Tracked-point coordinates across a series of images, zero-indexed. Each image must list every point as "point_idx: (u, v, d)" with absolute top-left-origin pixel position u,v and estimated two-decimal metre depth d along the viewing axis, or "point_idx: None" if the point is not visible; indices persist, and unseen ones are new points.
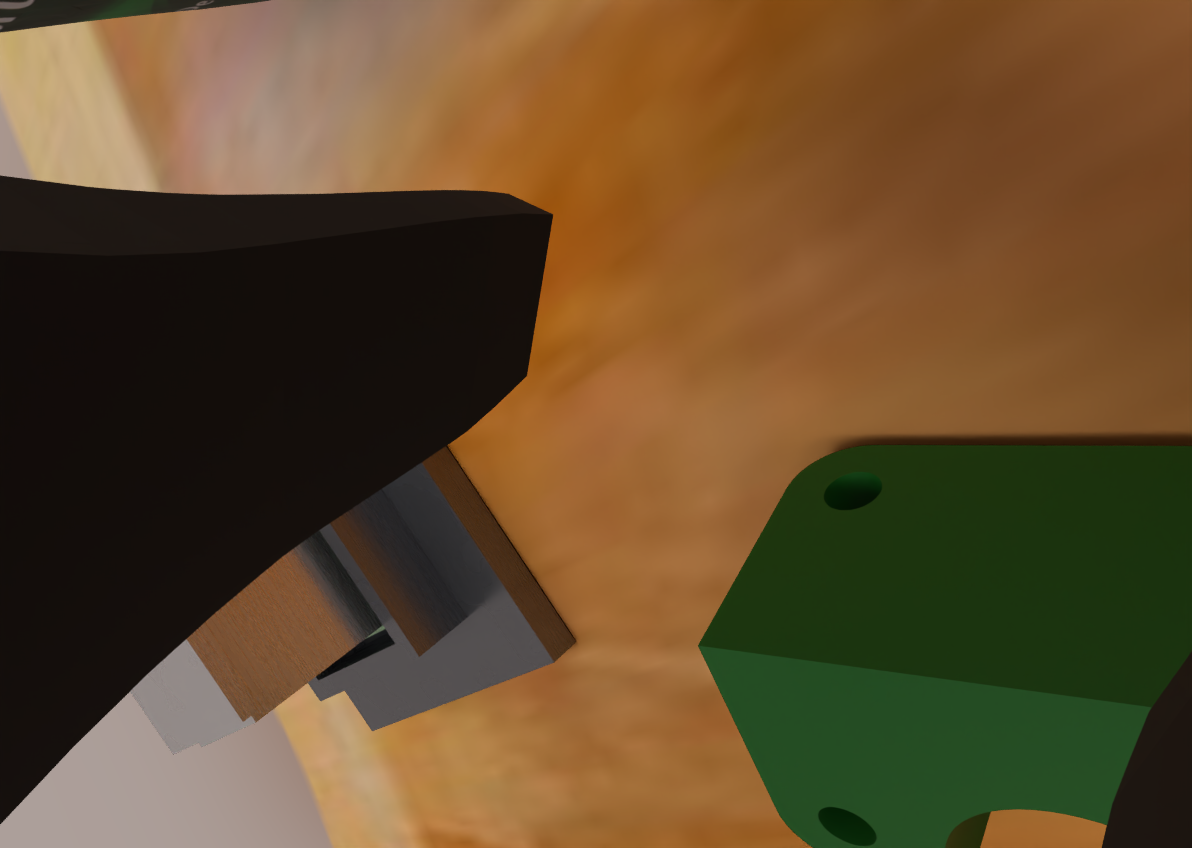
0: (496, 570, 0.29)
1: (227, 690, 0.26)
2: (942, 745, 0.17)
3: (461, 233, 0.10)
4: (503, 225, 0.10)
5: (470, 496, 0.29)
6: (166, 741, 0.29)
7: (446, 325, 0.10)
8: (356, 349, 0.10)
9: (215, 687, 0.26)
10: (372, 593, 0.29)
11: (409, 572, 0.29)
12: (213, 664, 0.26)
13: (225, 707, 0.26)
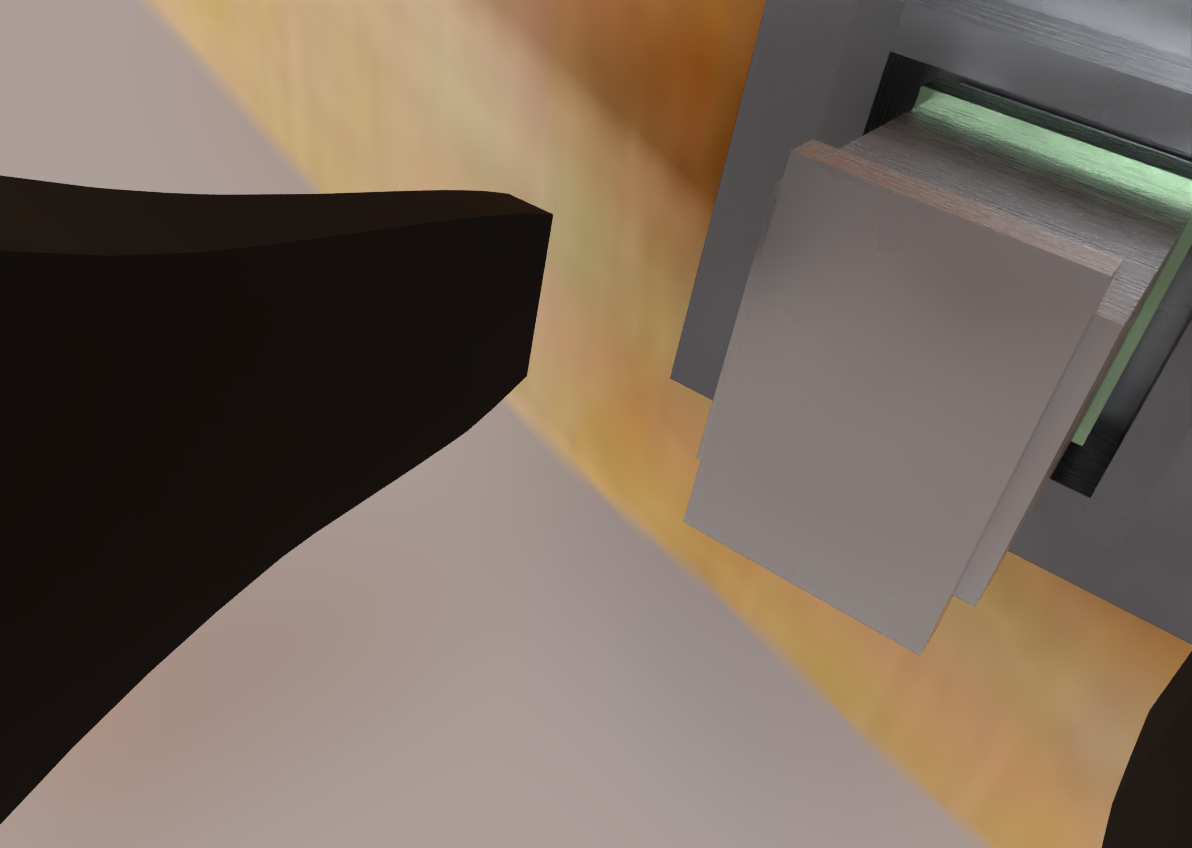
0: None
1: (1018, 237, 0.09)
2: None
3: (461, 233, 0.10)
4: (503, 225, 0.10)
5: None
6: (889, 628, 0.12)
7: (446, 325, 0.10)
8: (356, 349, 0.10)
9: (985, 247, 0.09)
10: (1152, 100, 0.12)
11: (1187, 70, 0.13)
12: (946, 204, 0.10)
13: (1037, 285, 0.09)
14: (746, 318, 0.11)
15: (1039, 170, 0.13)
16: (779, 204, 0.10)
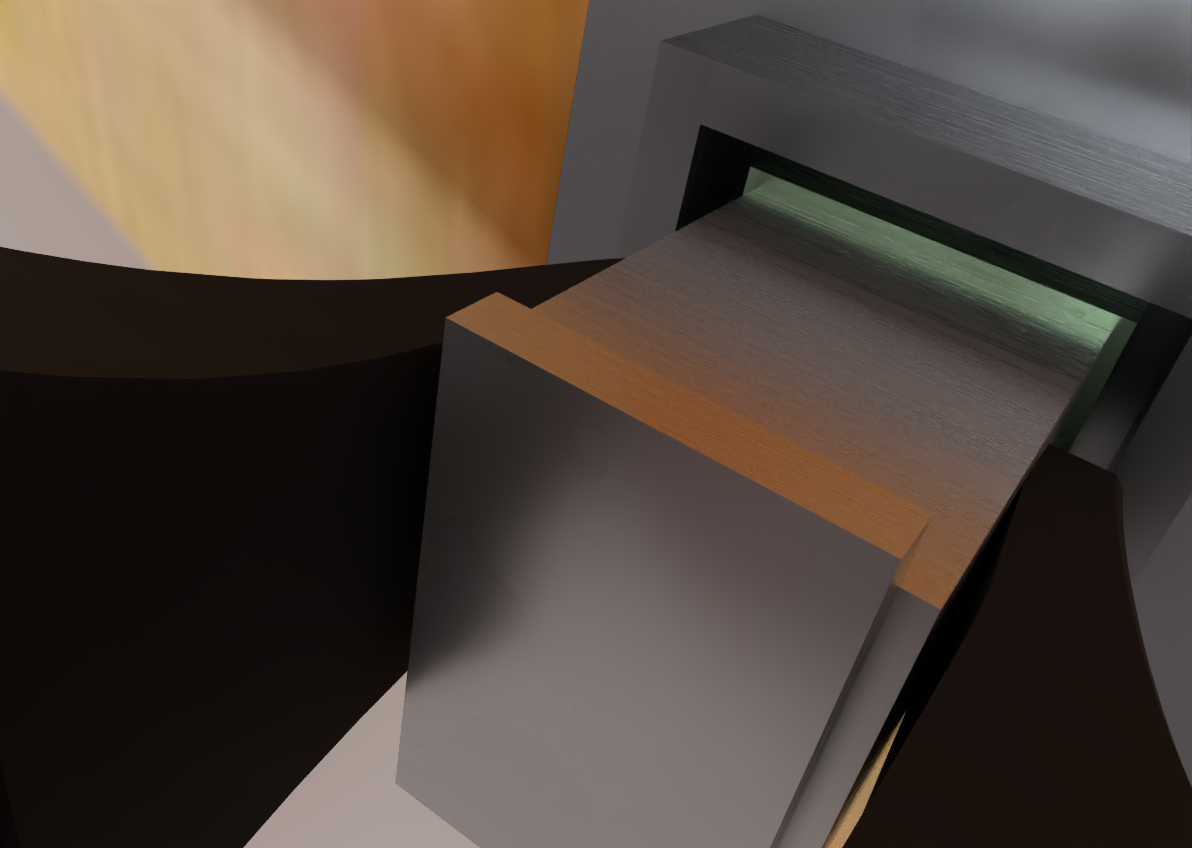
0: None
1: (768, 476, 0.06)
2: None
3: None
4: None
5: None
6: None
7: None
8: None
9: (716, 489, 0.06)
10: (1037, 204, 0.09)
11: (1094, 155, 0.10)
12: (666, 412, 0.06)
13: (795, 556, 0.06)
14: (425, 542, 0.08)
15: (885, 297, 0.09)
16: (441, 393, 0.07)
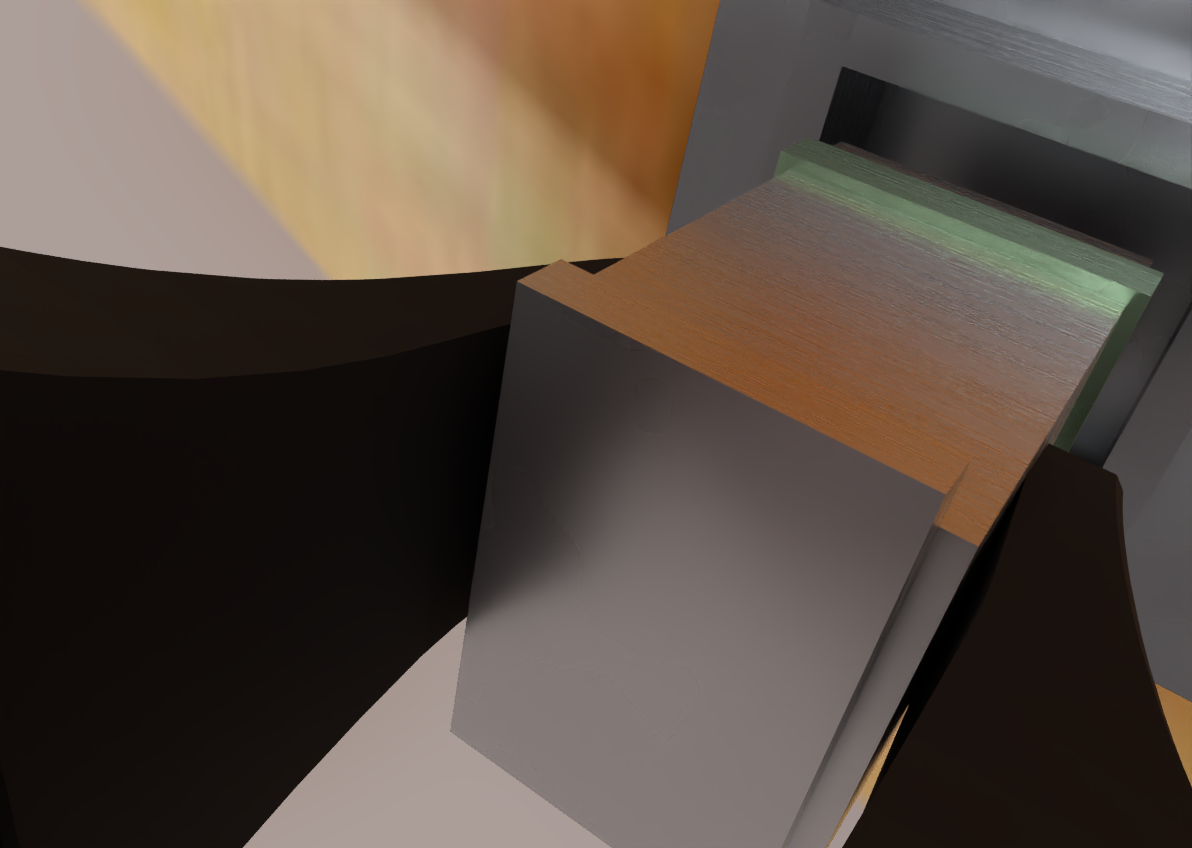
0: None
1: (821, 422, 0.06)
2: None
3: None
4: None
5: None
6: None
7: None
8: None
9: (774, 435, 0.06)
10: (1120, 121, 0.11)
11: (1160, 87, 0.12)
12: (724, 366, 0.07)
13: (845, 494, 0.06)
14: (490, 494, 0.08)
15: (913, 271, 0.10)
16: (510, 352, 0.07)
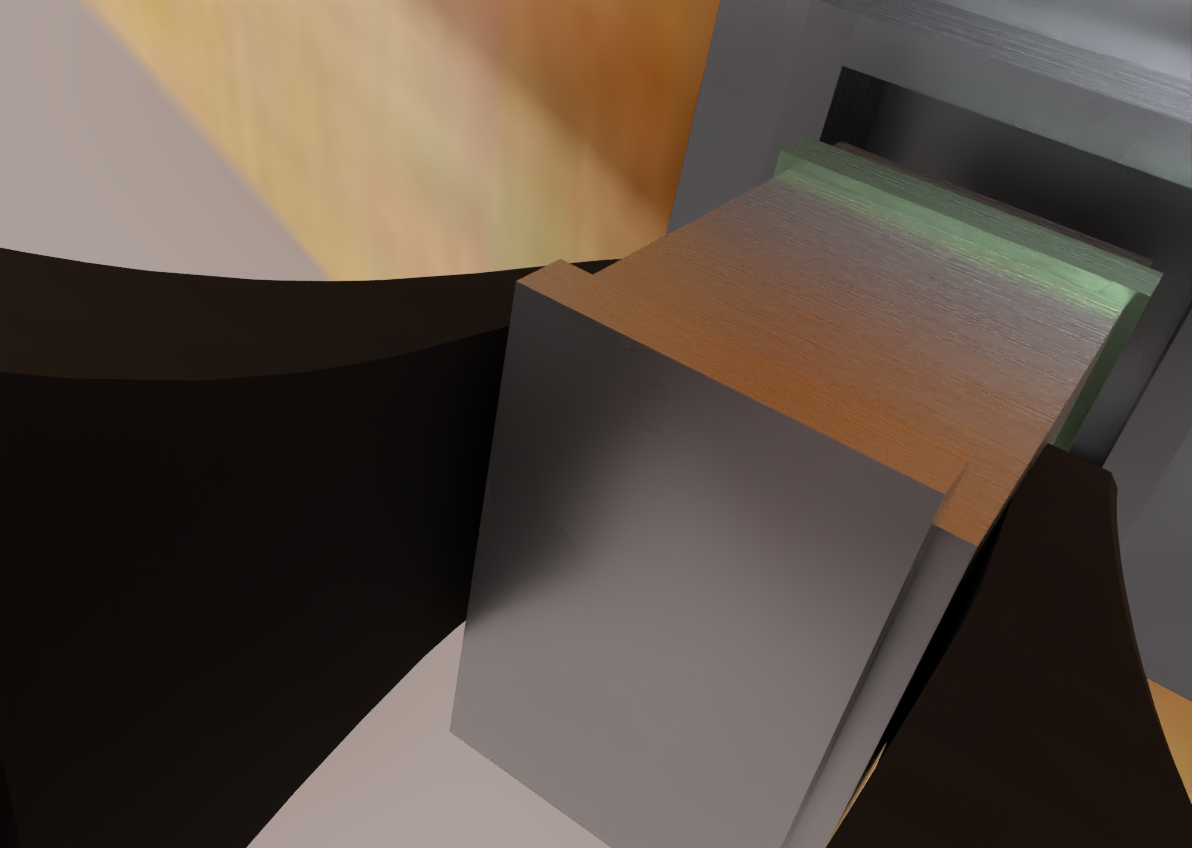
0: None
1: (819, 422, 0.06)
2: None
3: None
4: None
5: None
6: None
7: None
8: None
9: (774, 435, 0.06)
10: (1120, 120, 0.11)
11: (1160, 86, 0.12)
12: (723, 366, 0.07)
13: (845, 494, 0.06)
14: (489, 494, 0.08)
15: (913, 271, 0.10)
16: (509, 352, 0.07)
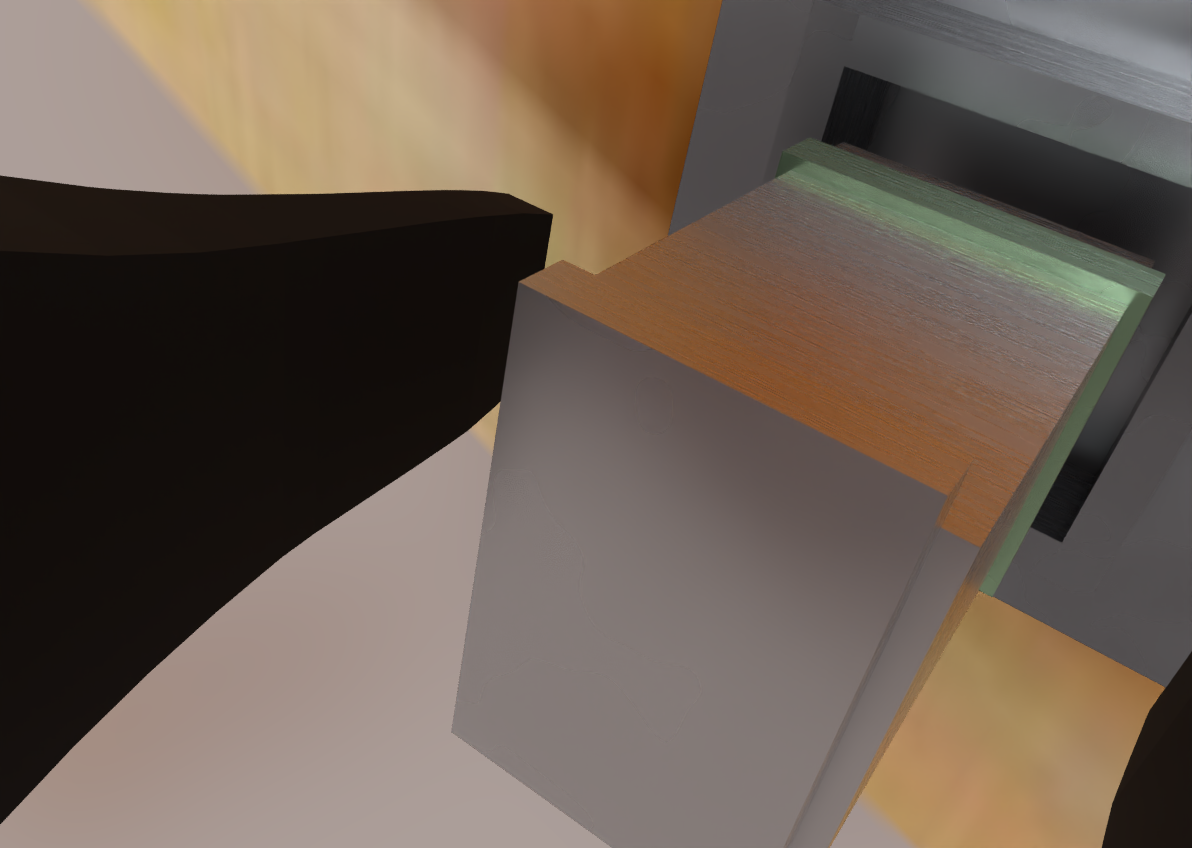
0: None
1: (822, 423, 0.06)
2: None
3: (461, 233, 0.10)
4: (503, 225, 0.10)
5: None
6: None
7: (446, 325, 0.10)
8: (356, 349, 0.10)
9: (775, 435, 0.06)
10: (1123, 121, 0.11)
11: (1162, 87, 0.12)
12: (726, 367, 0.07)
13: (847, 495, 0.06)
14: (491, 496, 0.08)
15: (915, 272, 0.10)
16: (511, 353, 0.07)
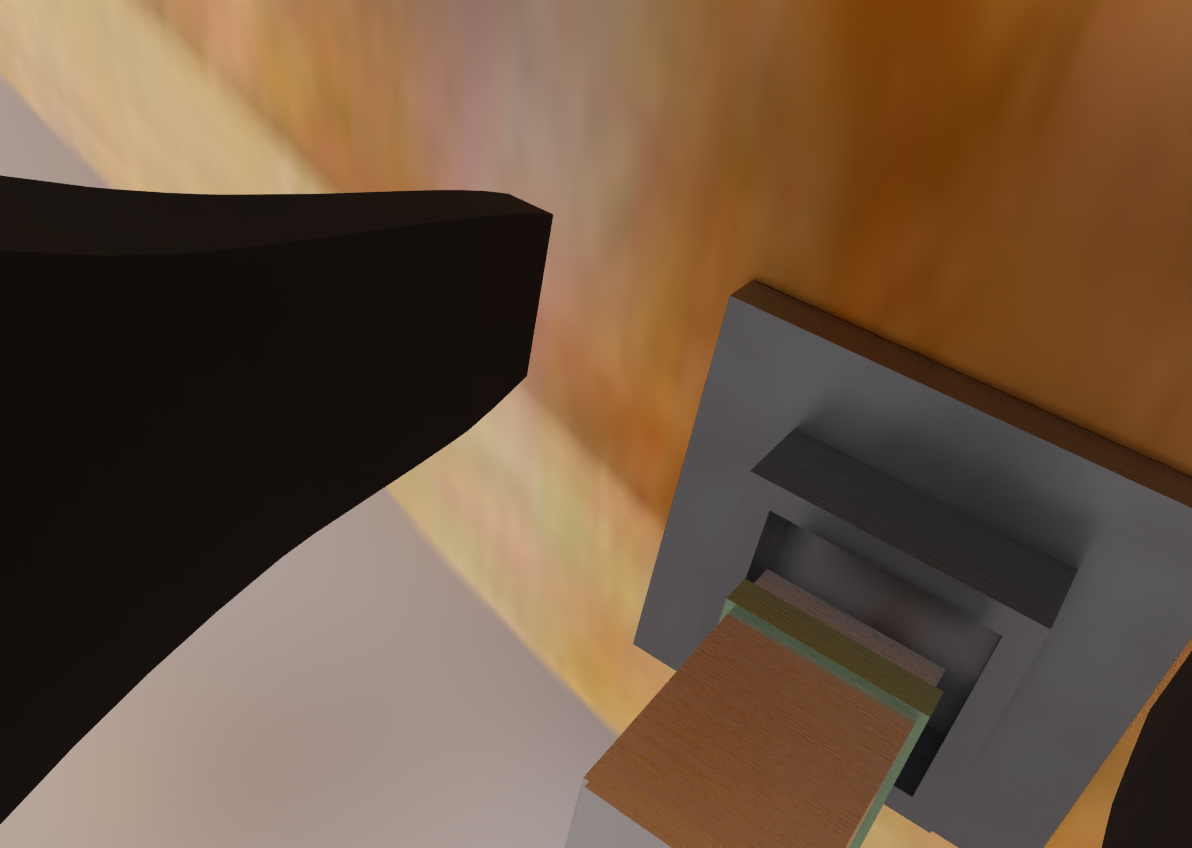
0: (1086, 456, 0.19)
1: None
2: None
3: (461, 233, 0.10)
4: (503, 225, 0.10)
5: (986, 392, 0.20)
6: None
7: (446, 325, 0.10)
8: (356, 349, 0.10)
9: None
10: (931, 575, 0.19)
11: (962, 538, 0.20)
12: (683, 840, 0.14)
13: None
14: None
15: (796, 705, 0.17)
16: (579, 812, 0.15)
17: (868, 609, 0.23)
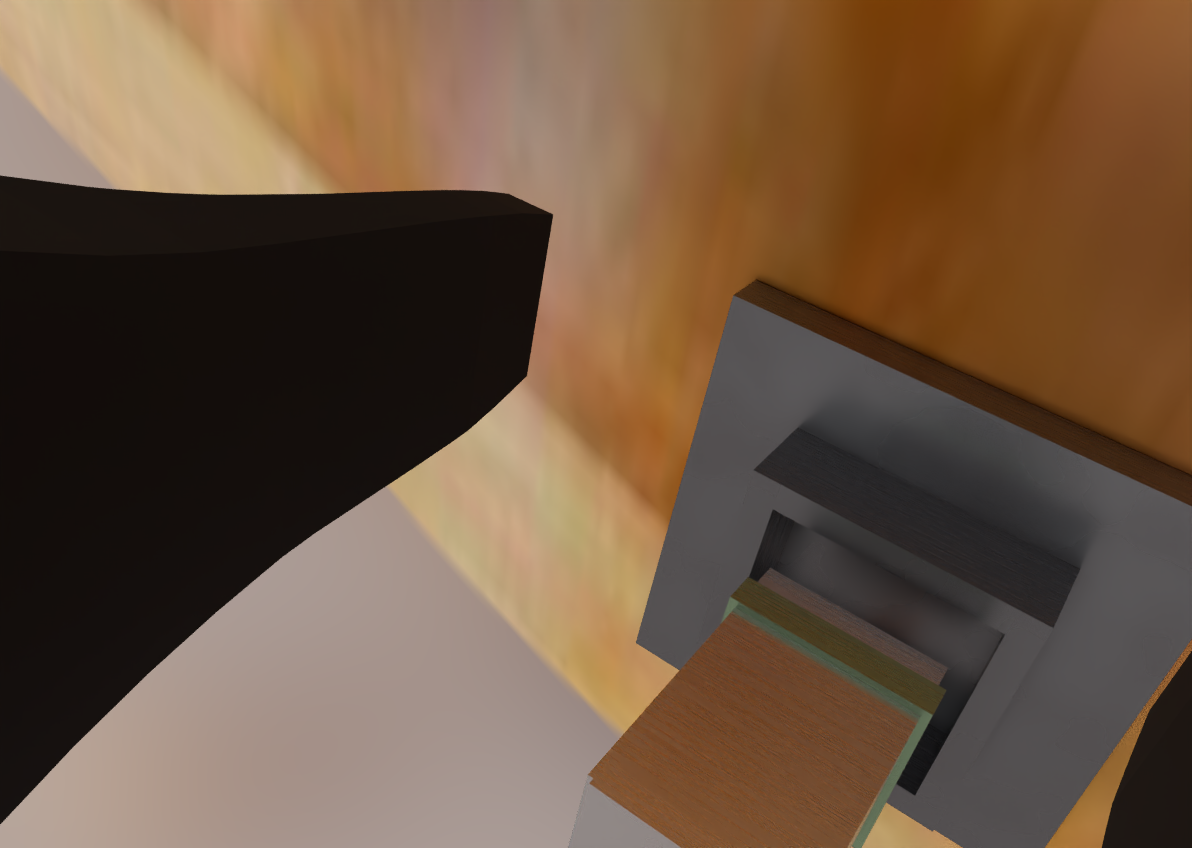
0: (1088, 455, 0.19)
1: None
2: None
3: (461, 233, 0.10)
4: (503, 225, 0.10)
5: (989, 392, 0.20)
6: None
7: (446, 325, 0.10)
8: (356, 349, 0.10)
9: None
10: (933, 574, 0.19)
11: (965, 537, 0.20)
12: (687, 837, 0.14)
13: None
14: None
15: (799, 703, 0.17)
16: (584, 809, 0.15)
17: (871, 608, 0.23)
